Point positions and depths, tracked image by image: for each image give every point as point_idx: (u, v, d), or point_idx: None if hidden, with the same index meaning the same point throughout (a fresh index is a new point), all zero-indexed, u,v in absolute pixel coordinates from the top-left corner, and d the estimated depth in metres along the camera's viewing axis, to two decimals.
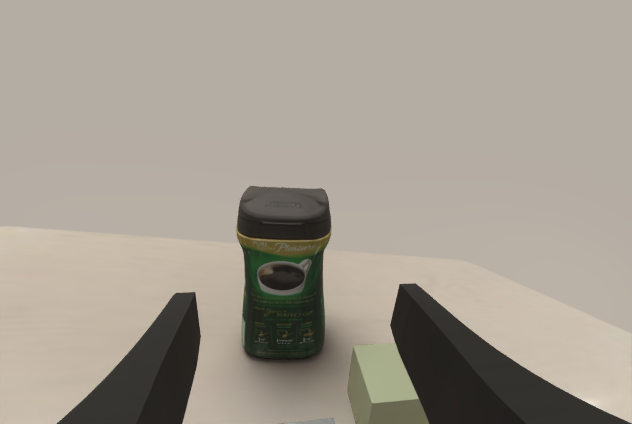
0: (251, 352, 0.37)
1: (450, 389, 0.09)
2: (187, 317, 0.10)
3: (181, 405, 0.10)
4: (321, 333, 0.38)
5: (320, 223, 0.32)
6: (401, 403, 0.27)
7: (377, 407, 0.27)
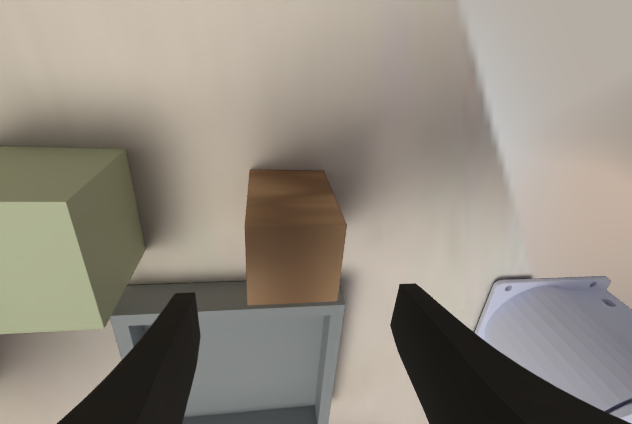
0: None
1: (450, 389, 0.09)
2: (187, 317, 0.10)
3: (181, 405, 0.10)
4: None
5: None
6: (93, 278, 0.14)
7: (106, 311, 0.15)
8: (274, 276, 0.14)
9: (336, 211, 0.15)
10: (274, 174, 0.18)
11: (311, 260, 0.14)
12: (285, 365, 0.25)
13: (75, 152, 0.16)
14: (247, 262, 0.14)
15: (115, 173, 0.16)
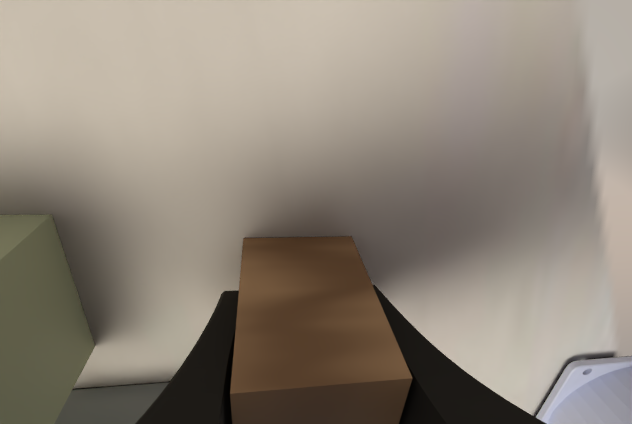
0: None
1: None
2: None
3: None
4: None
5: None
6: None
7: None
8: None
9: (387, 338, 0.09)
10: (280, 246, 0.12)
11: None
12: None
13: None
14: None
15: (26, 261, 0.10)
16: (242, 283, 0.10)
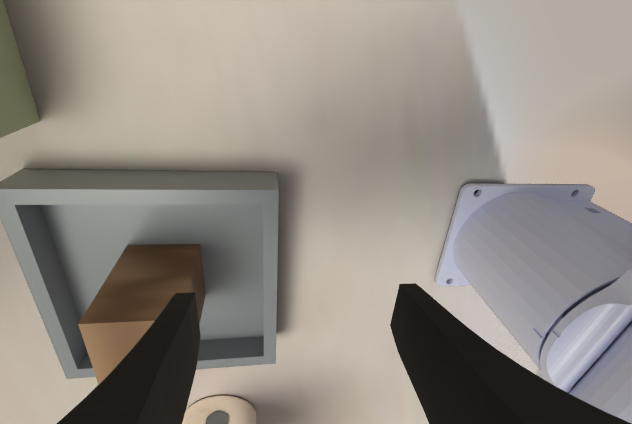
0: None
1: (450, 389, 0.09)
2: (187, 317, 0.10)
3: (181, 405, 0.10)
4: None
5: None
6: None
7: None
8: (119, 362, 0.16)
9: None
10: (148, 250, 0.19)
11: None
12: (224, 282, 0.22)
13: None
14: (89, 352, 0.15)
15: None
16: (112, 272, 0.17)
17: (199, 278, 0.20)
